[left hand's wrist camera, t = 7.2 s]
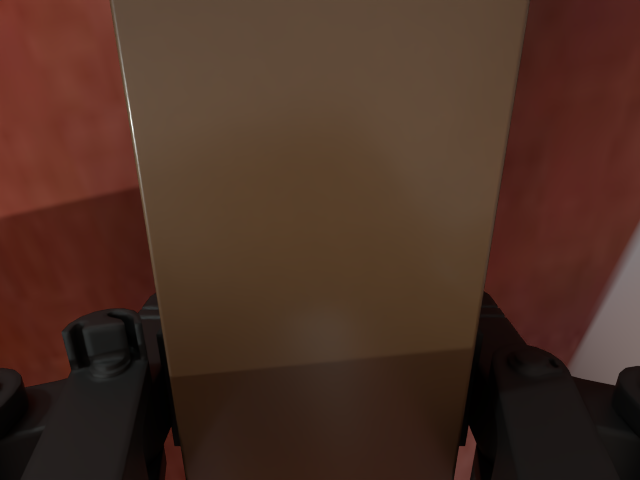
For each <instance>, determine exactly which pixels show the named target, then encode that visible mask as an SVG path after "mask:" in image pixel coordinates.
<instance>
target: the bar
mask: <svg viewBox="0 0 640 480" xmlns="http://www.w3.org/2000/svg"><path fill="white" fill-rule="evenodd" d="M529 4H530V0H110V6H111V12H112V19H113V25H114V31H115V37H116V44H117V50H118V56H119V62H120V69H121V75H122V81H123V88H124V94H125V100H126V106H127V113H128V119H129V125H130V131H131V138H132V144H133V150H134V157H135V163H136V169H137V175H138V182H139V188H140V194H141V200H142V207H143V213H144V219H145V226H146V232H147V238H148V244H149V251H150V257H151V263H152V269H153V276H154V282H155V288H156V294H157V301H158V307H159V313H160V320H161V326H162V332H163V338H164V345H165V351H166V357H167V363H168V370H169V376H170V382H171V389H172V395H173V401H174V407H175V414H176V420H177V426H178V432H179V439H180V445H181V451H182V458H183V464H184V470H185V476H186V480H454V474H455V468H456V462H457V455H458V449H459V443H460V437H461V430H462V424H463V418H464V412H465V405H466V399H467V393H468V386H469V380H470V374H471V368H472V361H473V355H474V349H475V343H476V336H477V330H478V324H479V317H480V311H481V305H482V299H483V292H484V286H485V280H486V274H487V267H488V261H489V255H490V248H491V242H492V236H493V230H494V223H495V217H496V211H497V205H498V198H499V192H500V186H501V180H502V173H503V167H504V161H505V154H506V148H507V142H508V136H509V129H510V123H511V117H512V111H513V104H514V98H515V92H516V85H517V79H518V73H519V67H520V60H521V54H522V48H523V42H524V35H525V29H526V23H527V16H528V10H529Z"/></svg>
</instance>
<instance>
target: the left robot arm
mask: <svg viewBox="0 0 640 480" xmlns="http://www.w3.org/2000/svg"><path fill="white" fill-rule="evenodd" d="M62 336H63V340H64V344H65V347H66V351H67V355H68V359H69V363H70V366H71V370H72V371H71V373H70V375H69V377H68V378H67V379H63V380H59V381H55V382H50V383H45V384H40V385H35V386H30V387H24V383H23V380H22V377H21V375H20V374H19V373H18V372H16V371H15V370H12V369H6V368H0V480H165V472H166V464H167V463H166V455H165V450H164V442H165V440H166V437H167V435H168V433H169V430H170V428H171V427H172V433H173V439H174V445H175V446H181V445H180V439H179V432H178V426H177V420H176V414H175V407H174V401H173V395H172V389H171V382H170V376H169V370H168V363H167V357H166V351H165V345H164V338H163V332H162V326H161V320H160V313H159V307H158V301H157V294H156V293H155V294H153V295H152V296H150V298H149V299H148V300H147V302H146V303H145V304H144V306H143V307H142V310H140V311H139V313H136V312H135V311H133V310H128V309H124V308H120V309H106V310H101V311H96V312H93V313H90V314H87V315H85V316H82V317H80V318H78V319H76V320H75V321H73V322H71V323H70V324H69V325H68V326H67V327H66V328H65V329H64V330H63V331H62ZM468 426H470V429H471V431H472V434H473V436H474V438H475V441H476V443H477V444H476V450H475V455H474V461H473V466H472V472H471V477H470V480H640V366H634V367H628V368H625V369H624V370H623V371H621V372H620V373H619V376H618V379H617V382H616V385H615V386H614V385H610V384H605V383H600V382H595V381H590V380H585V379H580V378H577V377H573V376H571V374H570V372H569V370H568V369H567V367H566V366H565V365H564V363H563V362H562V361H561V360H559V359H558V358H557V357H555V356H554V355H552V354H551V353H549V352H546V351H544V350H542V349H539V348H537V347H533V346H528V345H527V344H526V343H525V342H524V340H523V339H522V338H521V336H520V335H519V334H518V332H517V331H516V330H515V328H514V327H513V326H512V324H511V323H510V322H509V320H508V319H507V318H505V315H504V314H503V312H502V311H501V310H500V308H498V306H497V304H496V303H495V302H494V300H493V299H492V298H491V296H490V295H489V294H487V293H486V292H483V299H482V305H481V311H480V317H479V324H478V330H477V336H476V343H475V349H474V355H473V361H472V368H471V374H470V380H469V386H468V393H467V399H466V405H465V412H464V418H463V424H462V430H461V437H460V443H459V446H465V444H466V438H467V432H468Z"/></svg>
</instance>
